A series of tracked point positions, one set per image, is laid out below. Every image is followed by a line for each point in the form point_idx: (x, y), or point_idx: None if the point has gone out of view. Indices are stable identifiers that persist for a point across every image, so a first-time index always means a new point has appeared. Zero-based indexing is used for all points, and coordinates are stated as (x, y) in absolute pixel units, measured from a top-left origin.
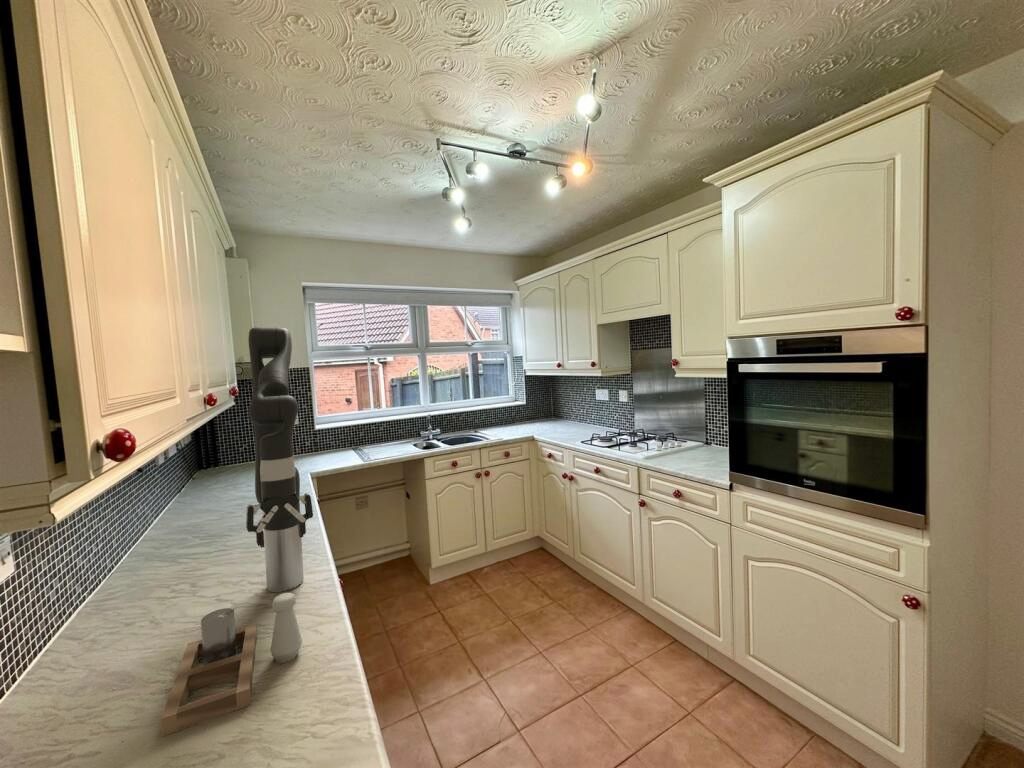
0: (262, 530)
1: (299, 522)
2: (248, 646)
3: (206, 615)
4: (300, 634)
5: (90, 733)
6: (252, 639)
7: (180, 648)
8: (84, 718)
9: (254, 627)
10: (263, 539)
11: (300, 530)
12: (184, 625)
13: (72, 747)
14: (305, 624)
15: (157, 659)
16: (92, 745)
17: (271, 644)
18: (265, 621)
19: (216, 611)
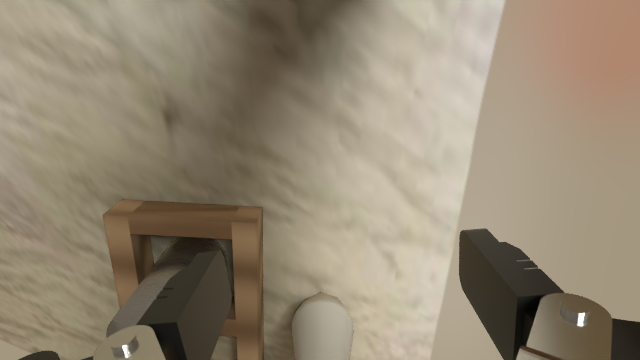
0: (180, 341)
1: (520, 339)
2: (246, 304)
3: (113, 321)
4: (351, 342)
5: (39, 323)
6: (252, 283)
7: (87, 147)
8: (5, 283)
9: (252, 235)
10: (213, 340)
11: (485, 320)
12: (48, 13)
13: (29, 337)
14: (372, 219)
15: (50, 165)
16: (57, 348)
17: (292, 334)
18: (279, 142)
19: (136, 316)
